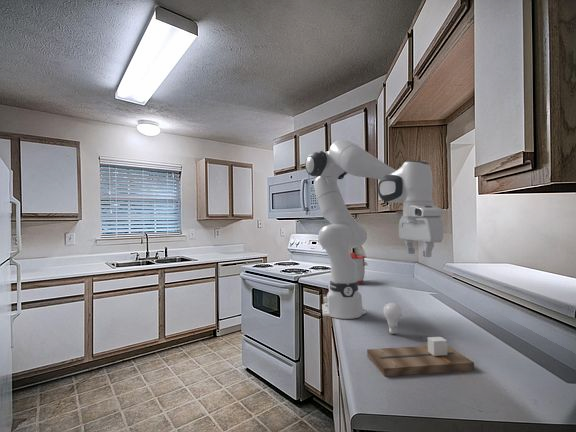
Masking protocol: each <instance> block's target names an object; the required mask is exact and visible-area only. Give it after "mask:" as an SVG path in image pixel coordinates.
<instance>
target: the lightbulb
mask: <svg viewBox="0 0 576 432" xmlns="http://www.w3.org/2000/svg"><path fill="white" fill-rule="evenodd" d="M382 314H383V316H384V318H385V319H386V322H387V325H388V332H389V334H391V335H396V334H398V328H397V327H398V322H399V321H400V320H401V318H402V315H403V312H402V307H401V306H400V305H399V303H398V304H397V303H396V302H391V301H390V302H388V303H386V304H385V305H384V306H383V308H382Z"/></svg>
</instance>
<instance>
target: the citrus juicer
mask: <svg viewBox="0 0 576 432" xmlns="http://www.w3.org/2000/svg"><path fill="white" fill-rule="evenodd" d="M350 256H351V258H352V259H353V260H354V261H355V262H356V264H357V281H358V285H361V284H363V282H364V280H365V279H364V278H365V272H366V271H365V269H366V267H365V266H369V264H368V262H366V261H365V256H363V255H357V254H356V253H355V252H350Z"/></svg>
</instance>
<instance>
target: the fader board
mask: <svg viewBox="0 0 576 432" xmlns="http://www.w3.org/2000/svg"><path fill="white" fill-rule="evenodd" d="M366 352H367V353H366V354H367V355H366V357H367V358H368V359H369V360H370V361H371V362H372V364H373V365H374V366H375V367H376V369H377V370H378V371H379V372H380V373H381V374H382V376H384V377H393V376H407V375H421V374H435V373H436V374H437V373H449V372H462V371H464V372H465V371H474V370H475V362H474V361H472V360H471V359H470V358H468V357H466V356H465V355H463V354H462V353H460V352H458V351H457V350H455V349H453V348H452V347H450V346H449V345H447V355H440V356H433V355H432V354H431V353H429V352H428V345H419V346H403V347H400V346H399V347H388V348H387V347H385V348H384V347H383V348H369V349H367V351H366Z"/></svg>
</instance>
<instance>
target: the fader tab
mask: <svg viewBox="0 0 576 432" xmlns="http://www.w3.org/2000/svg"><path fill="white" fill-rule="evenodd" d="M427 346H428V352H429V353H431V354H432V355H433V356H440V355H447V346H448V340H447V339H445V338H444V337H442V336H432V337H431V336H430V337H427Z"/></svg>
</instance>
